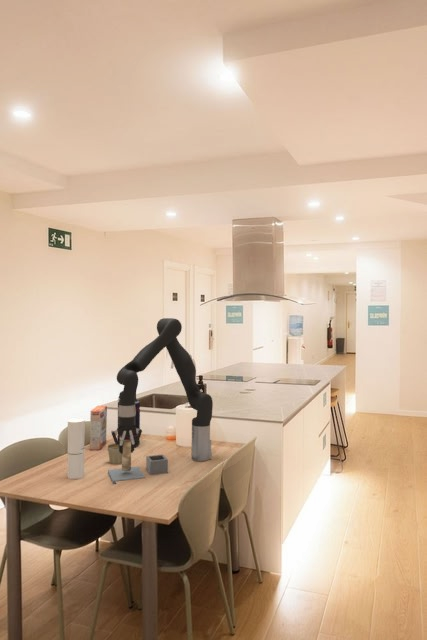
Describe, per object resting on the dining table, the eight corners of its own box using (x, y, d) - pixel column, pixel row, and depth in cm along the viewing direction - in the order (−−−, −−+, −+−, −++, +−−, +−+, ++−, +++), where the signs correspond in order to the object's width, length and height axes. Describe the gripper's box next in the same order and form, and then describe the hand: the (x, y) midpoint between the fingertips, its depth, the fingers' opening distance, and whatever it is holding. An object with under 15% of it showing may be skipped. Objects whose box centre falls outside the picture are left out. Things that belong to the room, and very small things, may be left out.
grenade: (121, 441, 267) (122, 388, 266) (142, 443, 265) (142, 389, 264) (113, 449, 253) (113, 392, 252) (134, 450, 251) (135, 393, 250)
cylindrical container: (87, 474, 214) (87, 419, 214) (77, 479, 208) (78, 422, 207) (73, 472, 217) (74, 417, 216) (64, 477, 210) (64, 421, 209)
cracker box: (100, 450, 250) (101, 411, 250) (89, 450, 250) (89, 410, 250) (107, 442, 264) (107, 405, 264) (96, 442, 264) (96, 405, 264)
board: (138, 469, 222) (138, 466, 222) (145, 480, 209) (145, 476, 209) (107, 473, 216) (107, 469, 216) (113, 484, 203) (113, 480, 203)
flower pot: (121, 467, 224) (122, 449, 224) (103, 466, 226) (103, 448, 226) (129, 461, 233) (129, 443, 233) (111, 459, 235) (111, 442, 235)
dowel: (129, 467, 215) (130, 439, 215) (131, 470, 211) (132, 441, 211) (121, 468, 214) (121, 440, 213) (122, 471, 210) (123, 442, 209)
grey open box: (162, 469, 223) (163, 454, 223) (167, 474, 215) (167, 459, 215) (146, 471, 220) (146, 456, 220) (150, 477, 212) (150, 461, 212)
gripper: (140, 411, 218) (140, 449, 218) (109, 413, 213) (109, 451, 213) (144, 415, 211) (144, 453, 211) (112, 417, 206) (111, 456, 206)
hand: (126, 452), depth 212 cm, fingers closed on dowel, 4 cm apart
